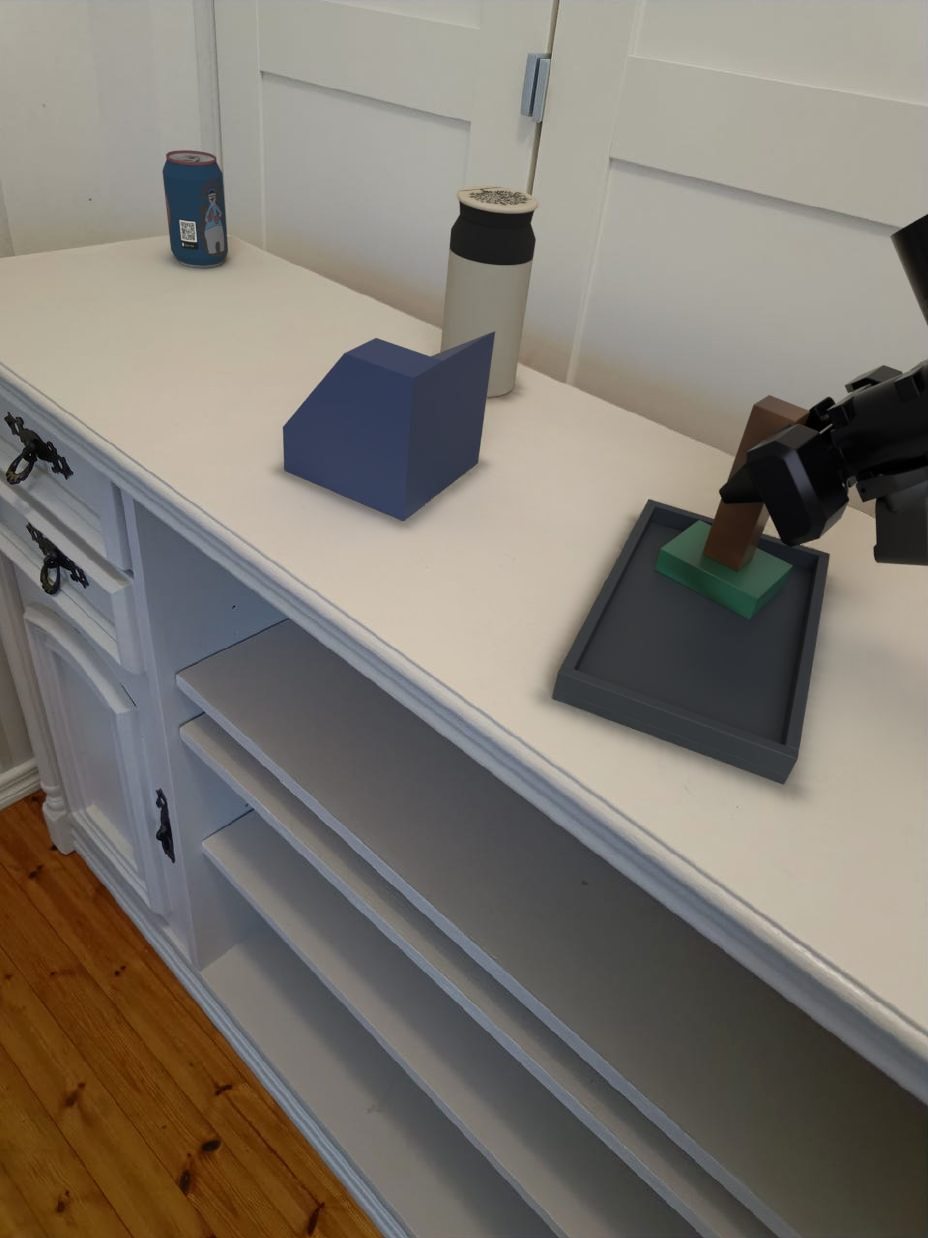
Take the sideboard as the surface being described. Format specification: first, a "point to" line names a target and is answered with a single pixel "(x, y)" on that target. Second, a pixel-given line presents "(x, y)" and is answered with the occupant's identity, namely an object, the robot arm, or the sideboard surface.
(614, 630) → the tray
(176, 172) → the soda can
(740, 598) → the brown post on base
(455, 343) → the travel mug
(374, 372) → the phone stand
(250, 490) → the sideboard surface
